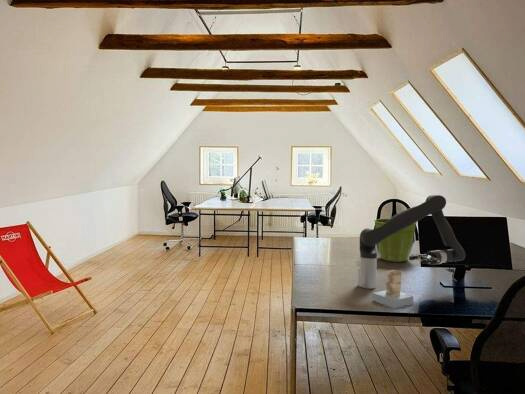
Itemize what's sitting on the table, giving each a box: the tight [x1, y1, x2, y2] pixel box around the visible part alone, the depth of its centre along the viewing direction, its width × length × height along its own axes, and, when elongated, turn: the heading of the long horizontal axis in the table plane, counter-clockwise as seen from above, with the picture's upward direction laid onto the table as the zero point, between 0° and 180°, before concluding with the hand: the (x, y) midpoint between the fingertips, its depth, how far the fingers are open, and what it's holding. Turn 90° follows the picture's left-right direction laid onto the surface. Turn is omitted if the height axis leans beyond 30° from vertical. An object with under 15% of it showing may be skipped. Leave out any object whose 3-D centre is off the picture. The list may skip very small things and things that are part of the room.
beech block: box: [385, 269, 402, 297], centre depth 223 cm, size 5×5×12 cm
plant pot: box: [374, 218, 418, 263], centre depth 322 cm, size 30×30×29 cm
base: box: [372, 289, 414, 309], centre depth 223 cm, size 14×14×4 cm
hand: (416, 259), depth 230 cm, fingers open, 8 cm apart
